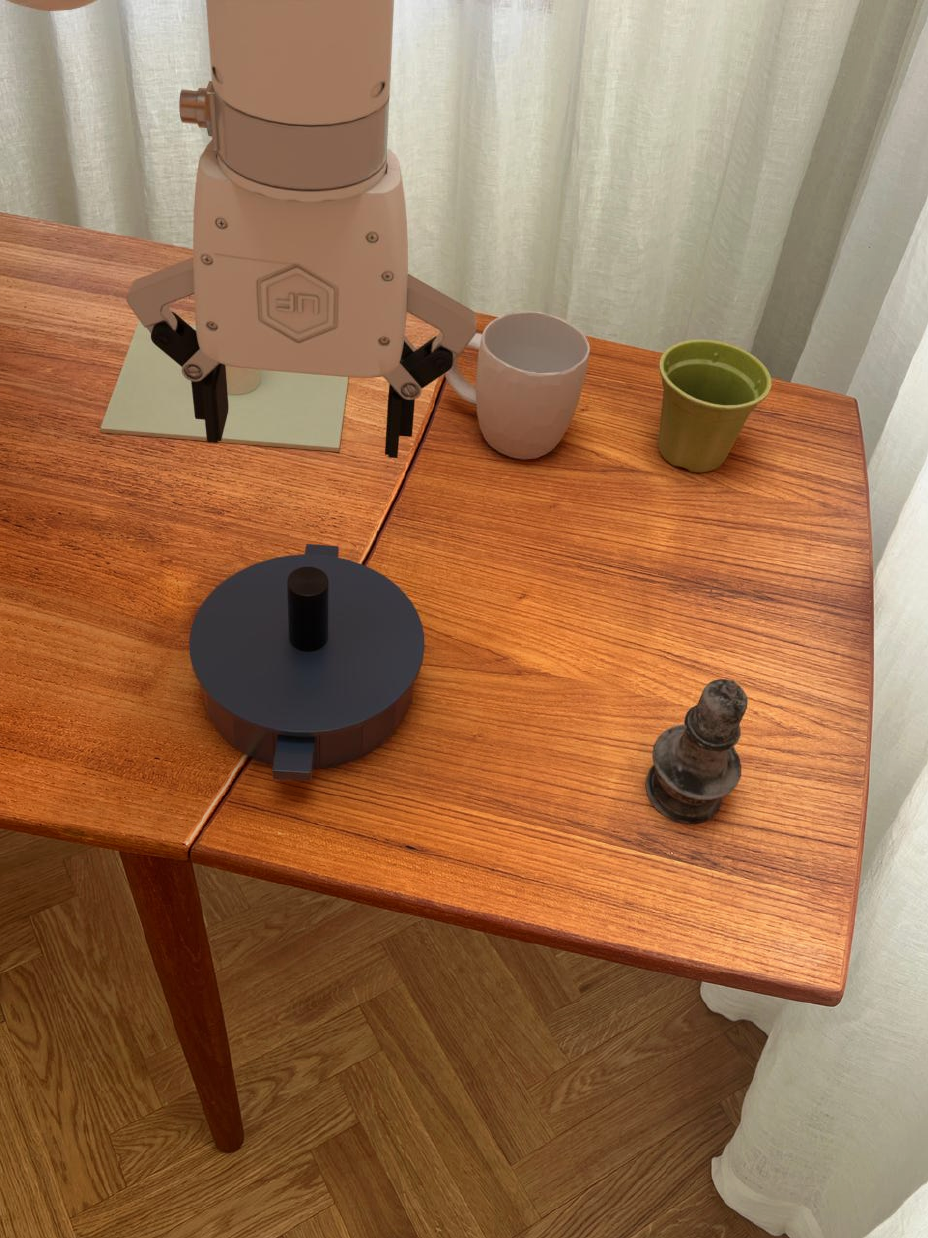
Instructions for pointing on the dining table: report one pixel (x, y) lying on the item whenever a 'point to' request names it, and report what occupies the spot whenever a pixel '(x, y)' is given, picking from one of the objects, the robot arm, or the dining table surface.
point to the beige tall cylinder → (242, 380)
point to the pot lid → (306, 645)
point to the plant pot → (707, 401)
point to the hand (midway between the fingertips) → (305, 434)
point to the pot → (307, 752)
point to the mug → (525, 381)
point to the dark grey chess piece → (699, 756)
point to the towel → (265, 417)
